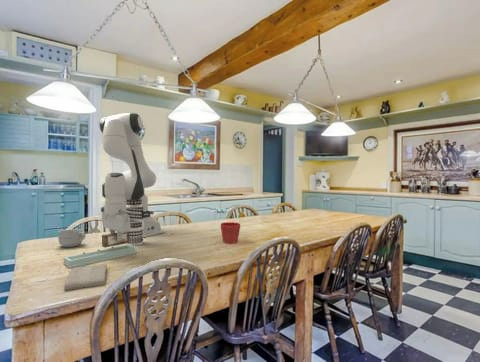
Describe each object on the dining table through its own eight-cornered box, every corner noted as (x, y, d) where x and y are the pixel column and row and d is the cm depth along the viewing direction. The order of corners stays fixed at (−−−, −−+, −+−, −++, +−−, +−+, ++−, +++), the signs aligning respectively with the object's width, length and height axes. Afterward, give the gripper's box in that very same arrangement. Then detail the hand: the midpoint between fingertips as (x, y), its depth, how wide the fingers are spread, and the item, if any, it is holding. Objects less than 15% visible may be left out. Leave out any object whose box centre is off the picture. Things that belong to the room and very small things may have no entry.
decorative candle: (131, 246, 137) (130, 196, 137) (121, 243, 143) (120, 195, 142) (147, 243, 145) (146, 195, 144) (137, 240, 150) (136, 194, 150)
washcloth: (107, 269, 107) (107, 261, 107) (106, 286, 91) (106, 277, 91) (71, 273, 102) (71, 265, 102) (63, 293, 86) (63, 283, 86)
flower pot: (241, 239, 153) (241, 222, 152) (239, 244, 142) (239, 226, 142) (222, 239, 154) (222, 221, 153) (218, 244, 143) (218, 225, 143)
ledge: (127, 249, 132) (127, 243, 132) (136, 253, 127) (136, 246, 127) (63, 263, 112) (63, 256, 112) (70, 268, 106) (70, 260, 106)
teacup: (53, 247, 137) (53, 231, 137) (75, 242, 147) (75, 227, 146) (70, 250, 130) (70, 234, 130) (92, 245, 140) (92, 229, 140)
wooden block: (126, 241, 129) (126, 230, 129) (129, 242, 127) (129, 231, 127) (102, 246, 121) (101, 235, 121) (105, 247, 119) (105, 236, 119)
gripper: (134, 210, 119) (134, 242, 120) (112, 206, 132) (113, 235, 133) (119, 212, 114) (120, 245, 115) (99, 207, 128) (99, 237, 128)
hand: (116, 239), depth 124 cm, fingers closed on wooden block, 3 cm apart
